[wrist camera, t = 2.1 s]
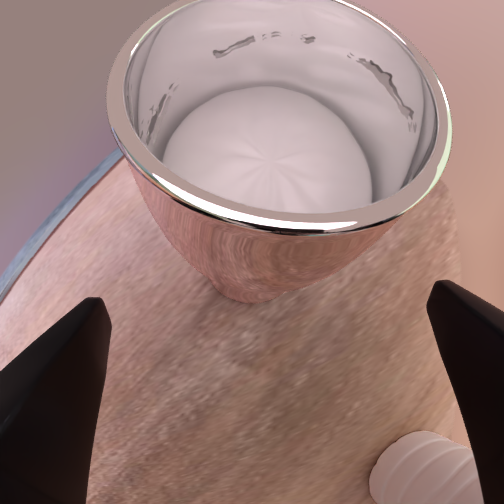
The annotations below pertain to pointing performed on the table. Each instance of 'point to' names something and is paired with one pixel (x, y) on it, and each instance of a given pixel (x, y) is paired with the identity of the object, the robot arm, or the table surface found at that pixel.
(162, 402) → the table surface
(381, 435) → the table surface
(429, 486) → the water bottle
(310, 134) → the silver metal tumbler
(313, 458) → the table surface
